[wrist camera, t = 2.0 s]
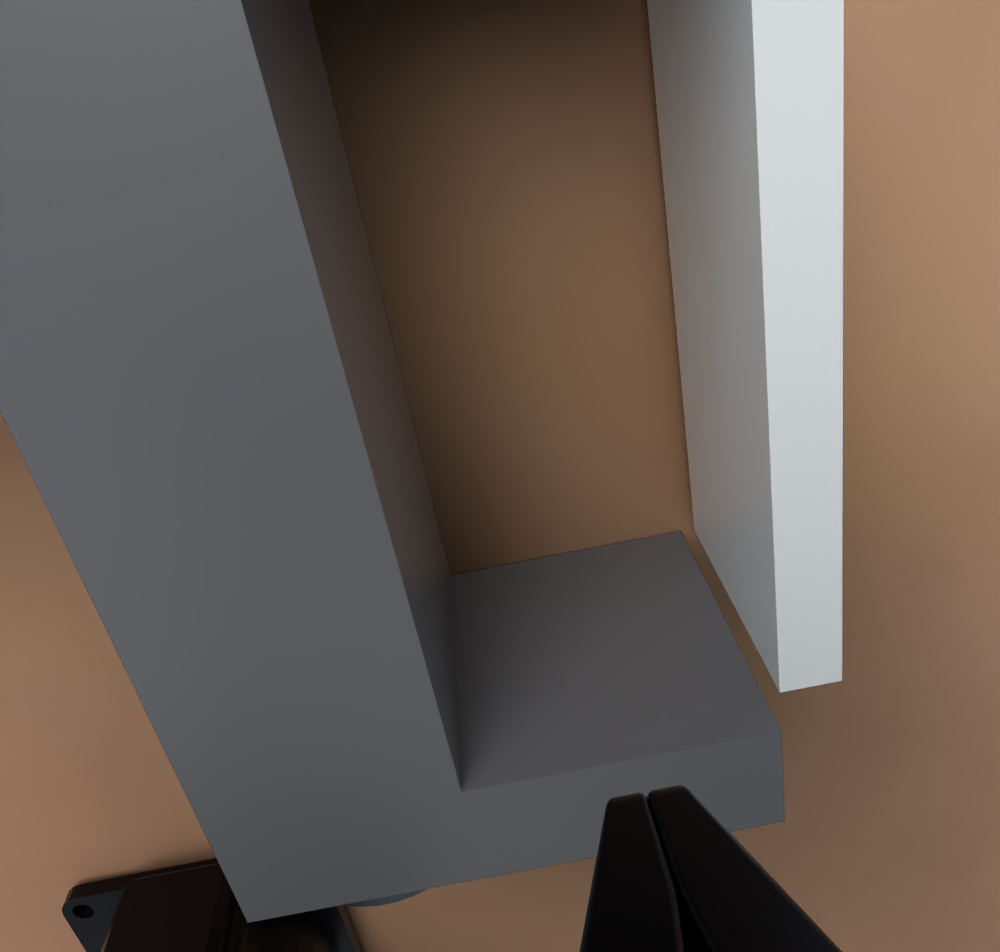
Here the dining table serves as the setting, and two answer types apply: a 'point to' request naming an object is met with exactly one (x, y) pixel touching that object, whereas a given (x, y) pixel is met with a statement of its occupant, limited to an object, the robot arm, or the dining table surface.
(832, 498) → the side door
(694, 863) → the robot arm
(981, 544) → the dining table surface
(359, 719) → the grey hollow rectangular block
